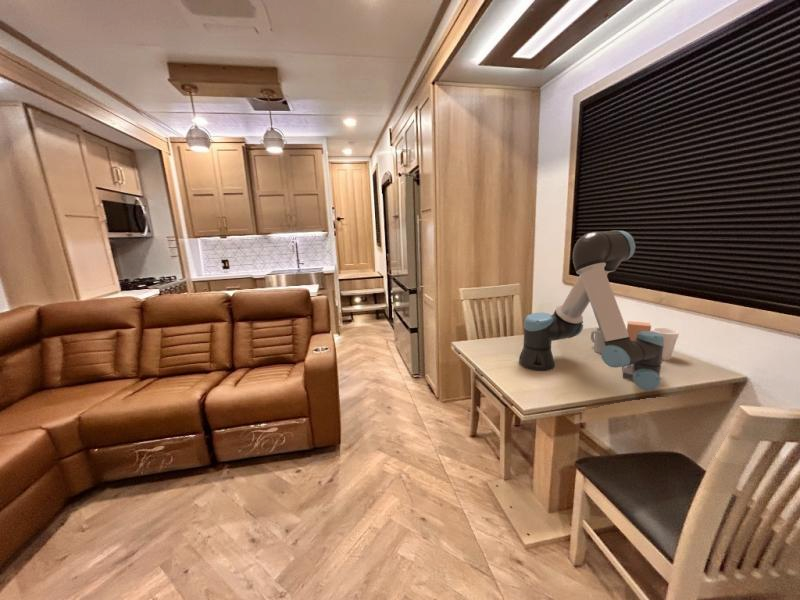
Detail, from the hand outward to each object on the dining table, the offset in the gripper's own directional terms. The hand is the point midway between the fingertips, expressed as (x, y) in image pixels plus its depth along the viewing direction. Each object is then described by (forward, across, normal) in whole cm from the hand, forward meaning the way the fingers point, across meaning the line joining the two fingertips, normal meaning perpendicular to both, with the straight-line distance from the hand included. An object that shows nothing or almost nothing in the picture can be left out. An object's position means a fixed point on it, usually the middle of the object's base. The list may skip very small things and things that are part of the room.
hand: (639, 345), depth 140 cm
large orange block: (+3, -1, -7) cm, 7 cm away
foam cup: (+13, +10, -9) cm, 19 cm away
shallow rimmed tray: (-5, -1, -9) cm, 11 cm away
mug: (+11, -14, -9) cm, 20 cm away
